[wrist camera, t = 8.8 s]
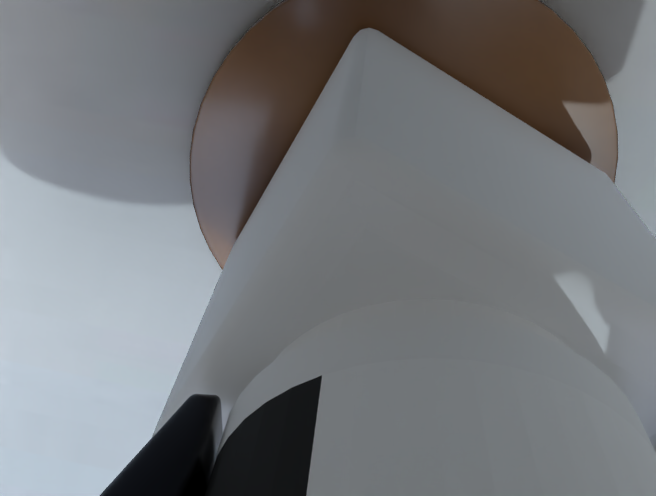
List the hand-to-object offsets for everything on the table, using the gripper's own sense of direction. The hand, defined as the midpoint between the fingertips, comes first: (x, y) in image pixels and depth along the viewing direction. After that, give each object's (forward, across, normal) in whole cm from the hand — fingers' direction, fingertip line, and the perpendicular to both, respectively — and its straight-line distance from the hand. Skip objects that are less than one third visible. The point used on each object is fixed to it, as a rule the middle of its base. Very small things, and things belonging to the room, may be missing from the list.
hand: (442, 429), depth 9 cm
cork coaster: (+8, 0, 0) cm, 8 cm away
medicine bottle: (+8, 0, 0) cm, 8 cm away
